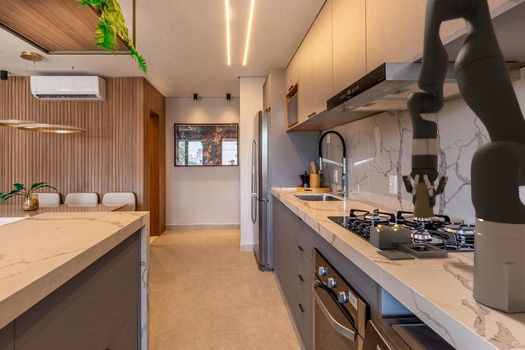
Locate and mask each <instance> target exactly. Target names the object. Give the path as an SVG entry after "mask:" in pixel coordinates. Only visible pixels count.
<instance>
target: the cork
mask: <svg viewBox="0 0 525 350" xmlns="http://www.w3.org/2000/svg"><path fill="white" fill-rule="evenodd" d="M431 186H433V185H431ZM415 190H416V192H417V193H416V201H415V206H414V205H413V206H414V208H413V213H412V216H414V217H417V218H427V219H428V218H430V219H431V218H435V212H434V208H430V207H429V196H430V195H429V192H428V191H429V189H428V188H427V185H426V183H424V182H420V183H417V184H416V186H415Z"/></svg>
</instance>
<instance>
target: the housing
mask: <svg viewBox="0 0 525 350" xmlns="http://www.w3.org/2000/svg"><path fill="white" fill-rule="evenodd" d="M369 244H370V245H372V246H373V247H375V248H377V249H396V250H399V249H400V251H401V250H402V252H403V251H404V253H406V254H408V255H410V256H413V257H415V259H423V258H424V259H425V258H442V257H443V258H447V257H448V255H449V254H448V253H449V252H448V251H446V250H443V249H442V248H439V247H436V246H433V245H431V244H428V243H425V242H422V243H419V242H418V243H412V229H409V228H406V227H404V230H396V229H394V226H387V227H386V230H378V229H377V226H370V227H369ZM418 246H425V247H426V249H425V250H428V251H416V249H411V248H413V247H418Z"/></svg>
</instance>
